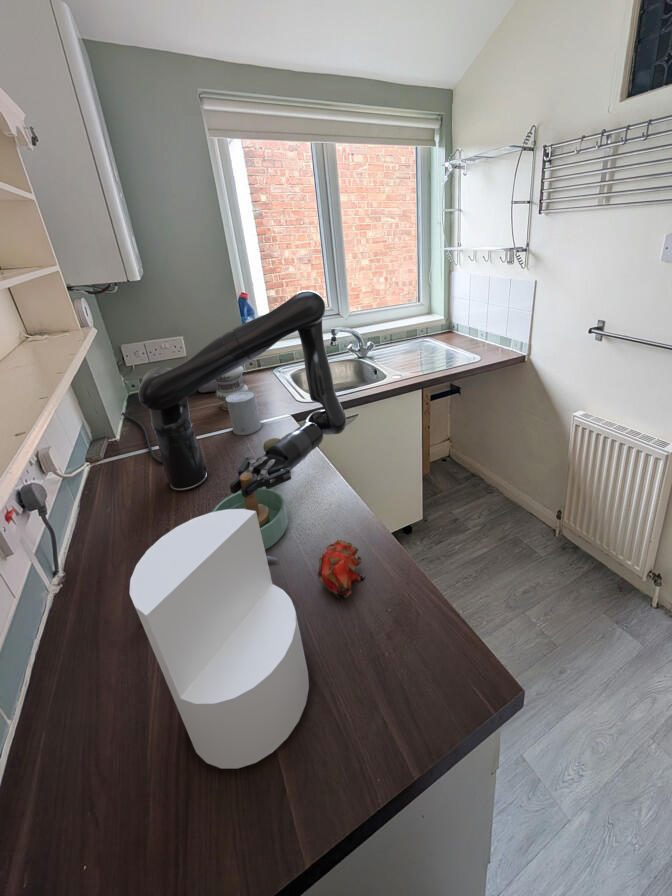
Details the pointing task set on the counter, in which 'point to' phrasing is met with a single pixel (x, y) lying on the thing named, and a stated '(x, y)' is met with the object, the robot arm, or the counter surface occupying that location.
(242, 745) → the stepped white drum
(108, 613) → the counter surface
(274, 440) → the olive green tapered cone
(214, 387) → the grey rounded bag
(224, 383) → the apothecary jar
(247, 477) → the dish brush
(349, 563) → the dragon fruit
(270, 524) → the bowl
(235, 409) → the white canister
